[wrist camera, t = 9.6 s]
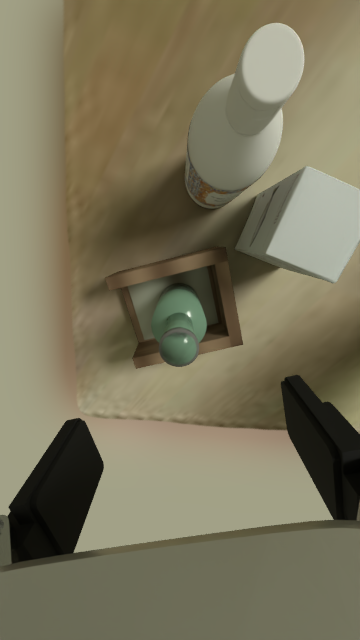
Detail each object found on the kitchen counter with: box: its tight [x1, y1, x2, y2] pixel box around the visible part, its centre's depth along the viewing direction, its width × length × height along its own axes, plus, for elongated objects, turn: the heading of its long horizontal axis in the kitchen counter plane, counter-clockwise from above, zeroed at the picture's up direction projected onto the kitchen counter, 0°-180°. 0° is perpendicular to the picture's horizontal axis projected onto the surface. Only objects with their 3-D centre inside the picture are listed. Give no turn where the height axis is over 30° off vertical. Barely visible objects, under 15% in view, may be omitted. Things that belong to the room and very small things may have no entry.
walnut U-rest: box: [105, 246, 243, 369], centre depth 32 cm, size 14×12×6 cm
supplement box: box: [235, 166, 360, 283], centre depth 26 cm, size 7×7×13 cm
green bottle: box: [151, 283, 207, 367], centre depth 26 cm, size 6×6×15 cm
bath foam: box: [185, 23, 304, 209], centre depth 20 cm, size 7×7×20 cm
